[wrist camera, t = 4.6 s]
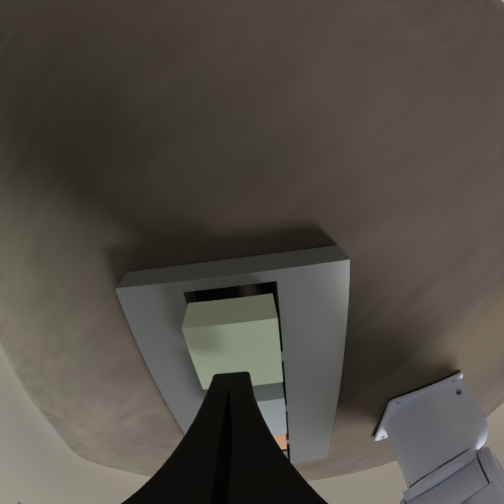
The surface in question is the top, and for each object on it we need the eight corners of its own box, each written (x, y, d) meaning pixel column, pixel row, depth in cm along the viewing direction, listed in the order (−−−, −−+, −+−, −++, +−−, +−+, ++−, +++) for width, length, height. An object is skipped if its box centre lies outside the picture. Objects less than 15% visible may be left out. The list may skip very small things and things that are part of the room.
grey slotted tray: (337, 245, 15) (350, 259, 13) (323, 443, 23) (326, 458, 21) (128, 271, 15) (115, 288, 13) (209, 455, 23) (208, 470, 21)
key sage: (270, 283, 14) (277, 318, 11) (276, 343, 15) (283, 381, 13) (191, 292, 14) (181, 328, 11) (207, 351, 15) (203, 389, 13)
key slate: (278, 360, 16) (284, 398, 13) (281, 399, 17) (286, 433, 15) (212, 367, 16) (209, 405, 13) (224, 405, 17) (223, 439, 15)
